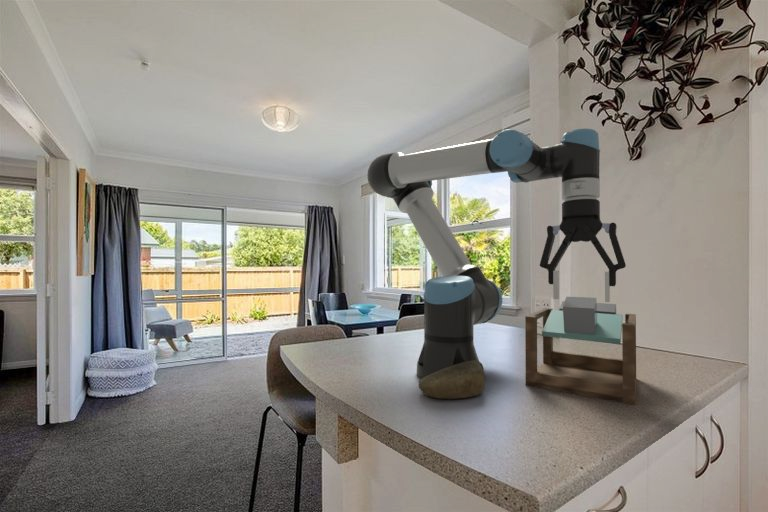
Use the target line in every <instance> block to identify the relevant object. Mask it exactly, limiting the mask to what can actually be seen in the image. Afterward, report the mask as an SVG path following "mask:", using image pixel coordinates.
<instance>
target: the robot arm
mask: <svg viewBox="0 0 768 512" xmlns="http://www.w3.org/2000/svg"><path fill="white" fill-rule="evenodd" d="M600 154H601V149H600V142H599V132H597V131H596V130H595V129H592V128H577V129H573V130H571V131H566V132H565V133H564V134H563V135H562V136H561V141H560V143H558V144H554V145H548V146H542V147H540V146H539V145H538V144H536V143H535V142H534V141H532V140H531V139H530V137H528V135H526V134H525V133H523V132H520V131H519V130H516V129H511V128H510V129H504V130H502V131H501V132H499V133H498V134H496V135H495V136H494V137H493V138H490V139H485V140H480V141H474V142H468V143H463V144H458V145H457V144H456V145H453V146H452V145H451V146H447V147H441V148H436V149H429V150H424V151H418V152H414V153H413V152H412V153H407V154H404V153H402V152H400V151H396V152H391V153H385V154H382V155H380V156H377V157H376V158H374V159H373V160H372V161H371V163H370V165H369V167H368V169H367V182H368V185H369V187H370V188H371V189H372V190H373V191H374V192H375V194H378V195H379V196H382V197H385V198H389V199H392V200H393V201H394V203H395V204H396V206H397V208H398V210H399V211H400V212H401V213H403V214H406V215H407V216H408V218H409V219H410V221H411V223H412V225H413V226H414V229H415V231H416V232H417V234H418V235H419V237H420V239H421V241H422V243H423V245H424V246H425V248H426V250H427V252H428V253H429V256H430V257H431V259H432V261H433V262H434V264H435V266H436V268H437V269H438V271H439V273H440V275H441V276H436V277H432V278H430V279H428V280H427V281H426V282H425V284H424V293H423V299H424V300H423V304H424V305H423V308H424V309H423V310H424V311H423V313H424V314H423V315H424V316H423V319H424V321H423V324H424V326H423V330H424V331H423V332H424V334H423V335H424V336H423V337H424V338H423V344H422V347H421V351H420V353H419V357H418V359H417V363H416V375H417V376H418V377H419V378H421V379H422V378H423V377H425V376H427V375H430V374H432V373H435V372H437V371H439V370H441V369H444V368H446V367H449V366H452V365H456V364H459V363H463V362H467V361H473V360H477V361H479V362H480V360H479V356H478V353H477V350H476V347H475V344H474V343H475V342H474V326H475V325H481V324H485V323H488V322H489V321H491V320H493V319H494V318H496V317H497V316H498V315H499V313H500V312H501V309H502V306H503V295H502V292H501V289H500V288H499V286H498V284H496V283H495V282H493V281H492V280H489V279H487V277H486V276H485V274H484V273H483V271H482V268H480V266H478V265H474V264H472V263H471V262H470V260H469V259H468V257H467V255H466V254H465V252H464V250H463V248H462V247H461V245H460V243H459V242H458V240H457V238H456V236H455V234H454V233H453V232H452V230H451V229H450V227H449V225H448V223H447V222H446V220H445V218H444V217H443V215H442V214H441V212H440V210H439V208H438V206H437V204H435V201H434V200H433V197H434V190H433V189H432V186H433V182H432V181H439V180H440V181H441V180H448V179H454V178H455V179H456V178H463V177H470V176H471V177H472V176H478V175H480V176H481V175H487V174H497V173H504V172H507V175H508V177H509V178H510V181H511V182H512V183H524V184H525V183H526V184H527V183H529V182H536V181H542V180H549V179H558V178H561V200H562V201H563V202H562V204H561V222H560V224H559V225H553V226H552V225H548V226H547V227H546V232H547V233H546V234H547V236H546V240H545V244H544V248H543V252H542V254H541V258H540V263H539V266H540V267H541V268H542V269H546V270H547V272H548V274H547V276H548V277H547V278H548V284H549V285H553V286H552V287H553V288H552V289H553V291H552V292H553V293H552V294H553V296H552V297H553V300H560V270H556V269H557V267H558V265H559V264H560V262H561V260H562V258H563V257H564V255H565V253H566V252H567V250H568V248H569V246H570V245H571V244H572V243H578V242H584V243H587V242H591V244H592V245H593V246H594V248H595V250H596V251H597V253H598V254H599V256H600V258H601V259H602V261H603V262H604V264H605V265H606V267H607V269H608V270H605V271H604V302H605V303H610V302H611V287H616V284H617V274H616V273H617V271H618V270H622V269H625V268H626V266H627V264H626V262H625V258H624V256H623V252H622V249H621V246H620V242H619V239H618V236H617V228H618V226H617V224H616V223H615V222H609V223H608V222H607V223H605V222H602V220H601V208H600V207H601V204H600V203H601V202H600V200H599V199H598V198H600V195H601V193H600V192H601V191H600V190H601V189H600V187H601V186H600V185H601V184H600V182H601V181H600ZM602 229H604V232H605V233H606V234H608V236H609V240H610V243H611V246H612V249H613V252H614V256H615V258H616V259H615V260H616V261H617V263H615V264H614V262H613V261H612V259H611V258H610V256H609V255H608V253H607V252H606V250H605V248H604V247H603V246H602V244H601V242H600V240H599V239H598V238H597V235H598V234H599V232H600V231H601V230H602ZM559 231H561V233H563V235H564V238H563V240H562V241H561V244H560V245H559V247H558V248H557V251H556V253H555V254H554V256H553V258H552V259H551V261H550V257H551V253H552V250H553V246H554V242H555V238H556V236H558V234H559ZM549 261H550V263H549Z"/></svg>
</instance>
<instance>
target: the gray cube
mask: <svg viewBox="0 0 768 512" xmlns="http://www.w3.org/2000/svg"><path fill="white" fill-rule="evenodd" d="M564 301H565V302H564V305H563V319H564V332H570V333H581V334H592V335H596V328H597V303H598V302H597V297H588V296H587V297H583V296H566V297H565V299H564Z"/></svg>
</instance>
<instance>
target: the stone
mask: <svg viewBox="0 0 768 512" xmlns="http://www.w3.org/2000/svg"><path fill="white" fill-rule="evenodd" d="M484 369H485V368H484V365H483V363H482V362H481V361H480V360H479V361H477V360H473V361H467V362H463V363H459V364H456V365H452V366H449V367H446V368H444V369H441V370H439V371H437V372H435V373H432V374H430V375H427V376H425V377H423V378H421V379H420V380H419V381H418V388H419V390H420V391H421V392H422V394H424V395H425V396H428V397H431V398H434V399H439V400H441V399H442V400H455V399H467V398H472V397H476V396H478V395H481V394H482V393H483V391H484V389H485V384H486V373H485V371H484Z"/></svg>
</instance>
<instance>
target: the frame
mask: <svg viewBox="0 0 768 512" xmlns="http://www.w3.org/2000/svg"><path fill="white" fill-rule="evenodd" d="M551 310H554V309H553V308H549V307H548V308H547V307H544V308H542V309H540V310H537V311H535V312H533V313H530V314H528V315H526V316H525V325H524V326H525V328H524V331H525V385H526V386H529V387H535V388H540V389H541V388H542V389H545V390H552V391H558V392H562V393H568V394H573V395H578V396H583V397H584V396H585V397H591V398H596V399H600V400H601V399H602V400H604V401H605V400H606V401H610V402H611V401H612V402H616V403H617V402H618V403H623V404H628V405H634V406H636V403H637V402H636V400H637V399H636V397H637V396H636V395H637V394H636V393H637V332H636V331H637V319H636V317H637V315H636V313H625V315H624V316H625V317H624V318H625V319H624V321H625V322H624V323H623V322H622V332H621V342H622V343H621V344H622V346H621V347H622V351H621V352H622V359H621V358H620V359H619V358H614V357H613V358H611V357H605V356H604V357H603V356H597V355H596V356H595V355H589V354H580V353H573V352H566V351H556V350H554V337H547V336H542V363H541V364H540V365H539V367H538V320H539V319H540V318H542V329H543V328H544V326H545V323H546V321H547V319H548V317H549V315H550V313H551Z"/></svg>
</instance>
